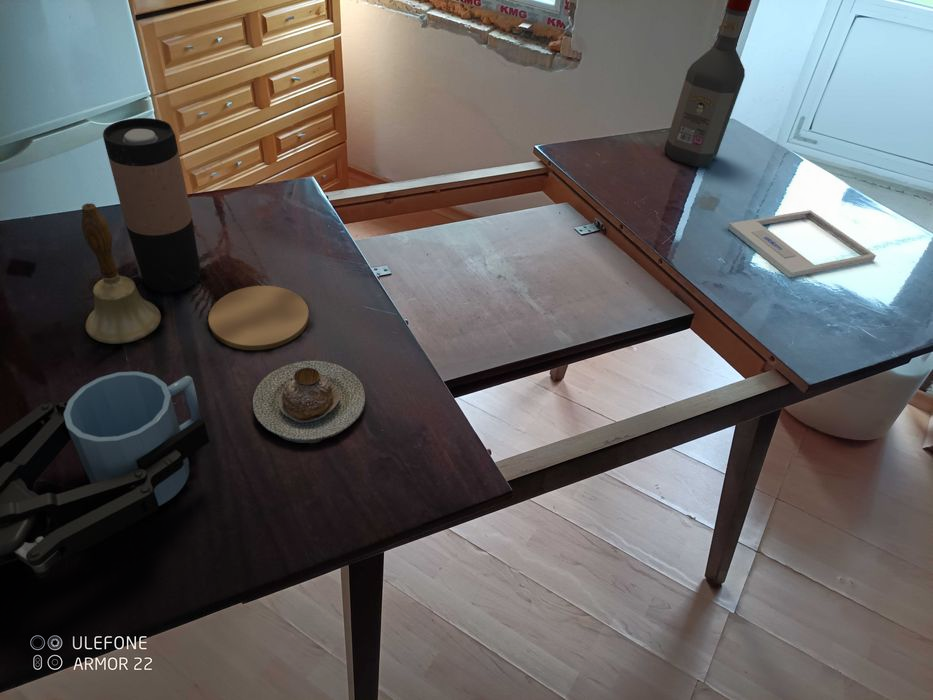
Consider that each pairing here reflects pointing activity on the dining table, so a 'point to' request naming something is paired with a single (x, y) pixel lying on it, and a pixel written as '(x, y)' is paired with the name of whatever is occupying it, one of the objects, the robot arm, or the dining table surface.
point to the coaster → (258, 317)
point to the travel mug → (154, 201)
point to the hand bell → (114, 291)
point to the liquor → (709, 95)
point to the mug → (128, 424)
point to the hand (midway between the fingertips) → (172, 407)
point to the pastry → (308, 401)
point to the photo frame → (786, 255)
